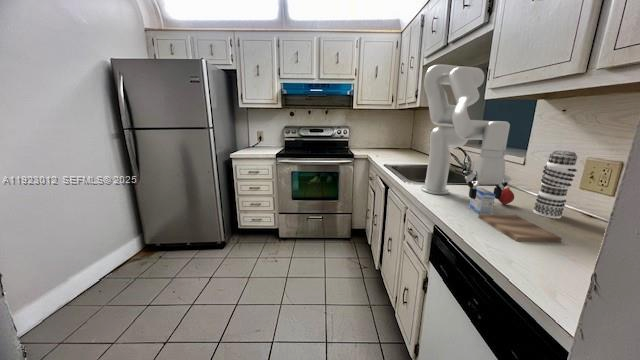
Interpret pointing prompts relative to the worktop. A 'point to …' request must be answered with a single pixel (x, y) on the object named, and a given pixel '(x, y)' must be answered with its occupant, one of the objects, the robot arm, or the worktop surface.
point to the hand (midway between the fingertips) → (484, 198)
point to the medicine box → (482, 201)
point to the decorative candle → (555, 184)
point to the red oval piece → (506, 196)
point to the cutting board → (519, 228)
